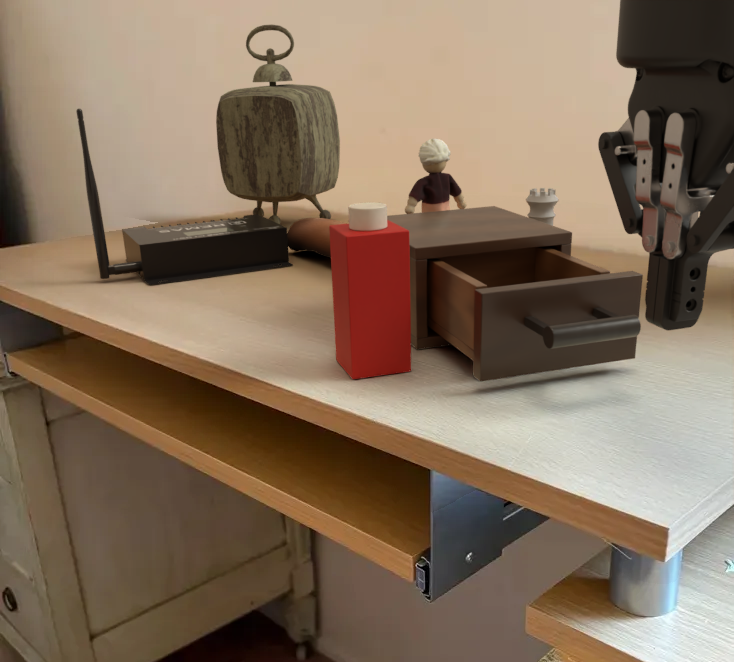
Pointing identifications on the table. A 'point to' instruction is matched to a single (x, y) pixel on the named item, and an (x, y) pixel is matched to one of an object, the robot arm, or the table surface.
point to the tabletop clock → (278, 137)
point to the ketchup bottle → (371, 292)
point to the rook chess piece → (542, 205)
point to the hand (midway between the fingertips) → (670, 324)
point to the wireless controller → (187, 243)
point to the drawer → (532, 311)
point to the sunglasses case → (311, 235)
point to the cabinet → (465, 248)
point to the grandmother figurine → (434, 181)
